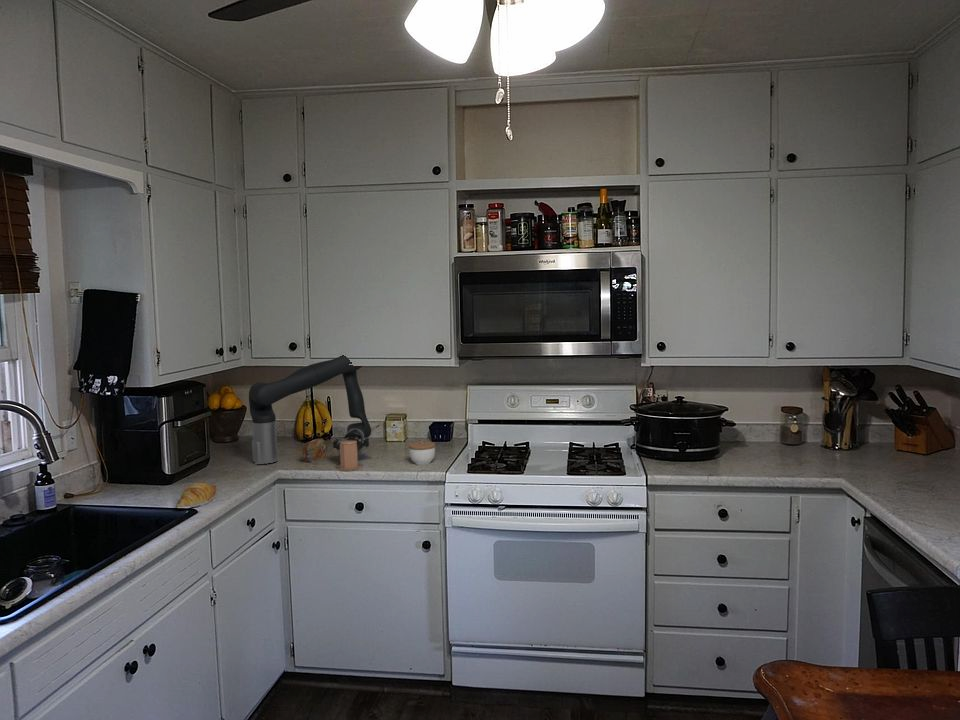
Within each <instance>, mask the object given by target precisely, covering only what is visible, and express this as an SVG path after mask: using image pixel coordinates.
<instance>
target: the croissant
mask: <svg viewBox="0 0 960 720" xmlns="http://www.w3.org/2000/svg"><path fill="white" fill-rule="evenodd" d="M216 492H217V486H216V485H212V484H209V483H206V482H204V481H201V482H194V483H193V484H190V485H188V486H186V487H185V489H183V491H182V493H181V496H180V499H178V503H177V504H176V508H177V507H183V506H191V505H196V504H199V503H203V502H206V501H209V500H210V499H211V498H212V497H213V498H214V496H215V494H216ZM213 495H214V496H213Z"/></svg>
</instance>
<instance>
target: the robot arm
mask: <svg viewBox="0 0 960 720" xmlns="http://www.w3.org/2000/svg"><path fill="white" fill-rule="evenodd" d="M349 364H352V362H350V360H349V359H348V358H347V357H346V356H344V355H342V356H340V355H339V356H338V357H335V358H332V359H329V360H324V361H319V362H316V363H312V364H309V365H307V366H304V367H301V368H299V369H297V370H295V371H293V372H292V373H291V374H289V375H288V376H286V377H285V378H282V379H279V380H275V381H271V382H268V383H267V382H261V381H259V382H258V381H257V382H255V383H254V384H252V385H251V387H250V388H249V391H248V405H249V413H250V416H251V422H252V423H251V424H252V436H253V437H252V440H251V454H252V462H253V461H254V462H256V463H258V464H259V463H273V462H276V461H278V462H279V458H278V457H279V456H278V455H279V454H278V453H279V452H278V440H277V439H278V436H277V421H276V420H277V419H276V413H275V412H274V410H273V404H275V403H276V402H278V401H280V400H282V399H285V398H286V397H288V396H291V395H293V394H296V393H300V392H303V391H305V390H309V389H311V388H315V387H317V386H318V385H321V384H324V383H325V382H328V381H329V380H332V379H335V377H337V376H340V375H342V378H343V382H344V386H345V391H346V396H347V397H346V399H347V405H348V414H349V417H350V418H353V419H359V420H360V422H354V423H350V424H348V425H347V428H346V431H347V433H346V434H345V435H344V438H343V439H338V438H336V439H334V441H332V447H333V449H336V450H337V451H340V442H341V441H344V440H356V441H357V449H359V450H362V449H363V448H365V447H366V448H368V447H369V446H370V436H371V435H372V428H371V424H370V423H369V420H368V417H367V414H366V409H365V400H364V395H363V392H362V390H361V387H360V385H359V382H358V375H357V371H358V370H360V369H362V367H363V366H353V365H349ZM276 463H277V462H276ZM273 464H274V463H273Z"/></svg>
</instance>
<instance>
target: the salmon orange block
mask: <svg viewBox="0 0 960 720" xmlns="http://www.w3.org/2000/svg"><path fill="white" fill-rule="evenodd" d="M340 441H341V440H340ZM339 457H340V460H339V461H340V464H341V468H355V467H357V466H358V463H359V461H358V448H357V441H356V440H344V441H341V442H340V450H339Z"/></svg>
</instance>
